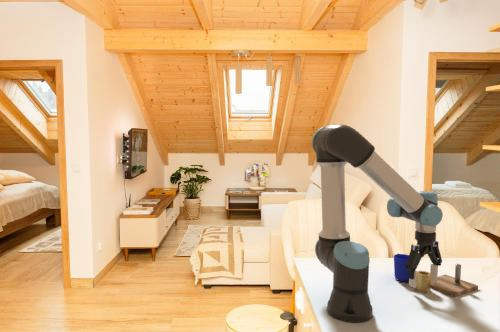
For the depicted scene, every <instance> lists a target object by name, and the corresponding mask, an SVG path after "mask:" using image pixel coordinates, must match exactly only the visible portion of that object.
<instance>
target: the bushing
mask: <svg viewBox="0 0 500 332" xmlns="http://www.w3.org/2000/svg"><path fill="white" fill-rule="evenodd" d="M416 271H417V270H416ZM414 289H415V291H416V292H419V293H422V294H429V293H431V291H432V290H431V289H432V288H431V273H430V272H429V271H427V270H418V271H417V281H416V288H414Z"/></svg>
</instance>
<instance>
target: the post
mask: <svg viewBox="0 0 500 332" xmlns="http://www.w3.org/2000/svg"><path fill="white" fill-rule="evenodd" d="M454 270H455V272H454V278H455V282H454V284H455V285H461V283H460V280H461V276H462V275H461V273H462V264H459V263H456V264H455V269H454Z"/></svg>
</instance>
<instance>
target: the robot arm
mask: <svg viewBox="0 0 500 332" xmlns="http://www.w3.org/2000/svg"><path fill="white" fill-rule="evenodd" d="M311 147H312V149H313V151H314V152H315V155H316V157H315V159H316V164H318V166H319V167H320V185H321V186H320V187H321V216H322V217H321V221H322V222H321V223H322V225H321V226H322V229H321V230H320V232H319V233H318V240H317V241H316V243H315V246H314V251H315V252H314V253H315V255H316V257H317V260H318V261H319V262H320V264H322V265H323V267H325V268H327V269H328V270H329V271H331V273H333V277H332V280H333V281H332V291H331V293H330V296H329V299H328V301H327V304H326V305H327V309H326V310H327V313H328V315H330V316H331V317H333V318H334V319H336V320H339V321H343V322H347V323H363V322H367V321H370V320H371V319H372V317H373V305H372V304H371V299H370V296H369V274H370V272H369V271H370V252H369V250H368V248H367V247H366V246H365V245H363V244H361V243H360V242H359V243H357V242H356V241H351V234H350V232H349V231H348V230H347V227H346V187H345V185H346V184H345V179H346V178H345V177H346V176H345V166H346V165H347V164H349V165H351V166H352V167H353V168H355V169H357V168H358V169H360V171H362V173H364V174H365V175H366V176H367V177H368V178H369V179H371V180H372V182H374V184H376V185H377V186H378V187H379V188H380V189H382V190H383V192H385V193H386V194H387V195H388V197H390V198H389V199H388V201H387V202H386V203H387V204H386V211H387V213H388V215H389V216H390V217H392V218H405V219H408V220H410V221H413V222H415V224H414V225H415V226H414V228H415V231H414V240H416V242H417V243H416V244H411V245H410V251H409V254H408V255H409V257H408V260H407V263H406V266H405V269H408V270H409V282H408V286H409V287H411V288H414V289H415V288H416V281H417V268H418V266H419V265H420V262H421V261H422V258H423V257H425V256H426V255H427V256H428V258H429V260H430V262H431V263H430V269H429V271H430V272H429V273H431V280H432V281H435V282H437V277H438V276H439V275H438V271H439V267H440V266H442V263H443V258H442V254H441V251H440V248H439V247H440V246H439V240H438V241H437V240H436V239H437V226H438V225H439V224H440V223H441V222H442V219H443V216H444V215H443V210H442V208H440V207H439V203H438V202H439V201H438V200H439V199H438V194H437V193H436V192H434V191H428V190H426V191H425V190H424V191H423V190H420V191H417V190H416V189H415V188H414V187H413V186H412V185H411V184H410V183H408V182H407V181H406V180H405V179H404V178H403V177H402V176H401V175H400V174H399V173H398V172H397V171H396V170H395V169H394V168H393V167H391V165H390V164H389V163H387V162H386V160H385V159H383V158H382V157H381V156H380V155H379V154H378V153H377V152H376V147H375V146H374V145H373V144H372V143H371V142H370V141H369V140H368V139H367V138H366V137H365V136H363V134H361V133H360V132H359V131H357V130H356V129H355V128H353V127H352V126H350V125H347V124H337V125H335V124H334V125H330V124H329V125H325V126H322V127H320V128H318V129H317V130H316V131H315V132H314V134H313V136H312V139H311Z"/></svg>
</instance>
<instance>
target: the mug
mask: <svg viewBox="0 0 500 332" xmlns="http://www.w3.org/2000/svg"><path fill="white" fill-rule="evenodd" d="M408 257H409V254H403V253H397V254H394V255H393V268H394V269H393V270H394V279H396V280H397V281H399V282H403V283H404V282H405V283H407V282H408V283H409V270H408V269H405V266H406V263H407V260H408Z"/></svg>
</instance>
